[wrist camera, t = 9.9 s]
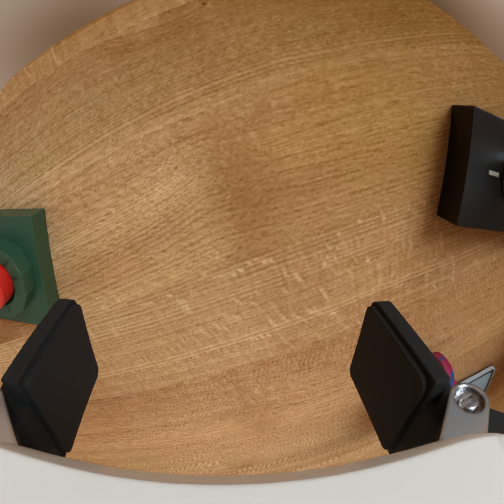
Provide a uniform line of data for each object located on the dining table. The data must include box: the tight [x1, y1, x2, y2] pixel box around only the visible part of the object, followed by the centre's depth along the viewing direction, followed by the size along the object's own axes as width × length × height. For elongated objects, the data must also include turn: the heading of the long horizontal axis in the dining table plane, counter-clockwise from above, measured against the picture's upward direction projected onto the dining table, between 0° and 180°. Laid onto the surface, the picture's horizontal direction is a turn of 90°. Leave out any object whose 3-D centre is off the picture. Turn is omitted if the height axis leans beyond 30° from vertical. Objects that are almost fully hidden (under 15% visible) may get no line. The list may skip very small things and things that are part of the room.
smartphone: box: [460, 366, 495, 393], centre depth 35 cm, size 7×1×15 cm
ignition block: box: [0, 209, 59, 325], centre depth 21 cm, size 10×8×4 cm
